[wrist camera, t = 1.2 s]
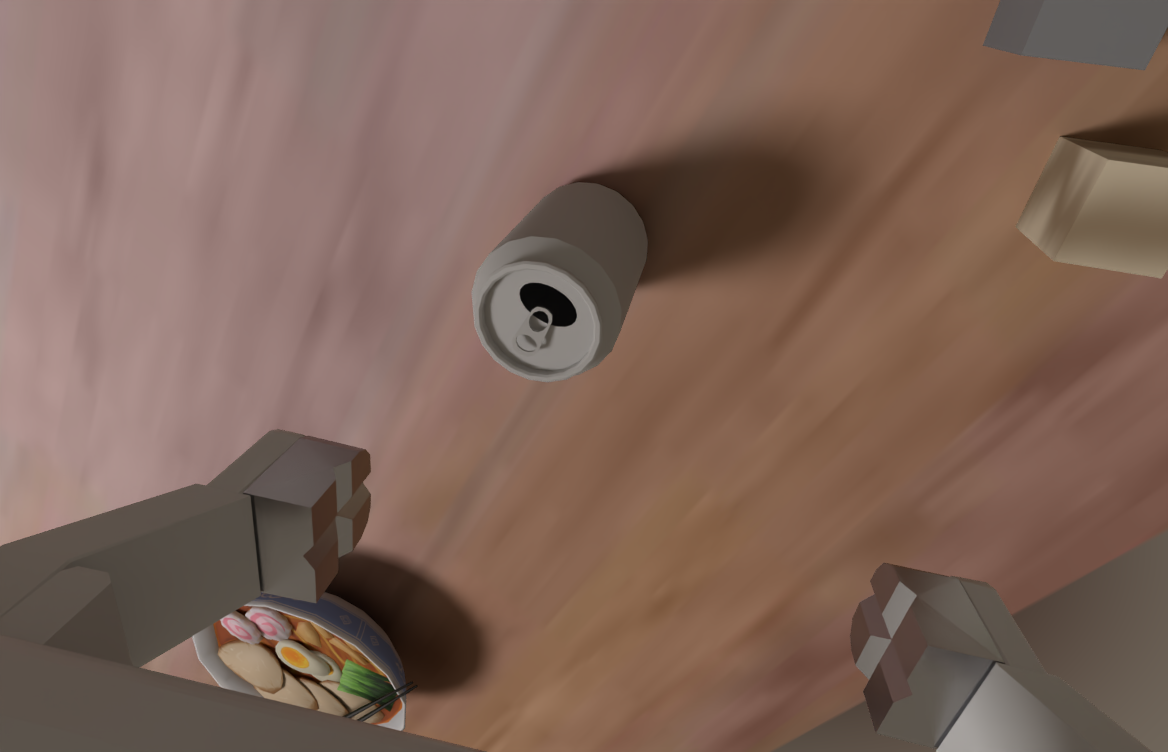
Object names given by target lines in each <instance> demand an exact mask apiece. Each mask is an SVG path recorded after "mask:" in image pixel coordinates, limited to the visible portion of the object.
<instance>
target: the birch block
mask: <svg viewBox="0 0 1168 752" xmlns="http://www.w3.org/2000/svg"><path fill="white" fill-rule="evenodd" d="M1016 228H1017V229H1018V230H1020V231H1021V232H1022V233H1023V234H1024V235H1025V236H1026V237H1027V238H1028V239H1030V240H1031V241H1032V242H1033V243H1034V244H1035V245H1036V246H1037V247H1038V248H1040V249H1041V250H1042V251H1043V252H1044V253H1045V254H1046V255H1047V256H1048V257H1050V258H1051V259H1052V260H1053V261H1057V262H1063V263H1069V264H1076V265H1082V266H1088V267H1094V268H1100V269H1107V270H1113V271H1119V272H1125V273H1132V274H1138V275H1144V276H1150V277H1156V278H1162V277H1163V275H1164V274H1165V272H1166V271H1167V269H1168V152H1165V151H1163V150H1156V149H1149V148H1142V147H1134V146H1127V145H1120V144H1112V143H1105V142H1098V141H1090V140H1083V139H1076V138H1068V137H1061V136H1060V137H1059V139H1058V141H1057V143H1056V145H1055V147H1054V149H1053V151H1052V153H1051V155H1050V157H1049V159H1048V161H1047V163H1046V166H1045V168H1044V170H1043V172H1042V174H1041V176H1040V178H1039V180H1038V182H1037V184H1036V186H1035V188H1034V190H1033V192H1032V194H1031V196H1030V198H1029V200H1028V202H1027V204H1026V206H1025V208H1024V210H1023V212H1022V214H1021V217H1020V219H1019V221H1018V223H1017V225H1016Z"/></svg>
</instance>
